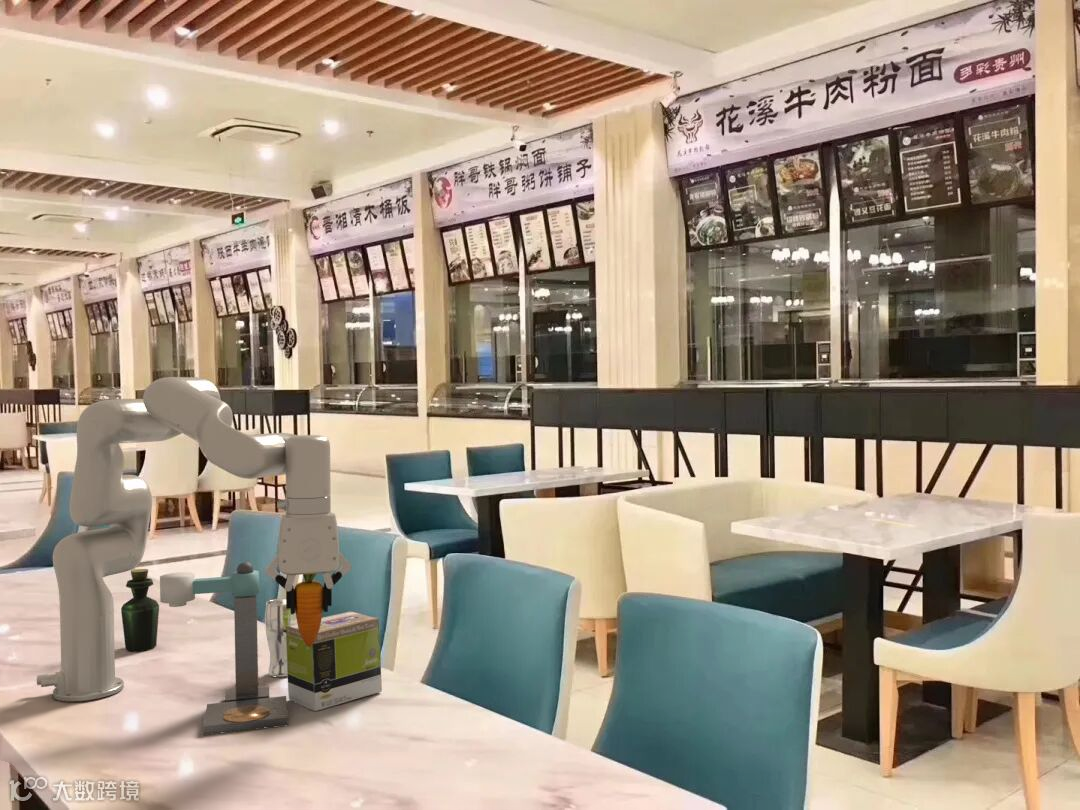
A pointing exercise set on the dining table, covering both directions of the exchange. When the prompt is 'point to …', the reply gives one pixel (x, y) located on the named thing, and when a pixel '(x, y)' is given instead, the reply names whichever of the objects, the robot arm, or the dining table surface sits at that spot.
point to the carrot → (309, 608)
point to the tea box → (334, 661)
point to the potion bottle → (140, 614)
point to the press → (246, 682)
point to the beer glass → (278, 635)
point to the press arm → (207, 585)
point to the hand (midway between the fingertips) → (309, 610)
